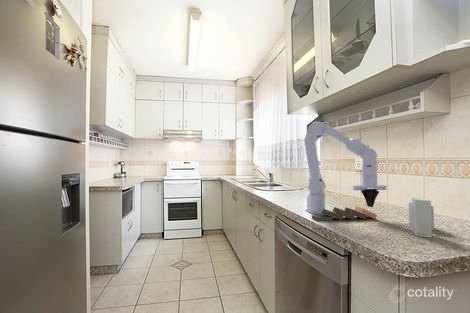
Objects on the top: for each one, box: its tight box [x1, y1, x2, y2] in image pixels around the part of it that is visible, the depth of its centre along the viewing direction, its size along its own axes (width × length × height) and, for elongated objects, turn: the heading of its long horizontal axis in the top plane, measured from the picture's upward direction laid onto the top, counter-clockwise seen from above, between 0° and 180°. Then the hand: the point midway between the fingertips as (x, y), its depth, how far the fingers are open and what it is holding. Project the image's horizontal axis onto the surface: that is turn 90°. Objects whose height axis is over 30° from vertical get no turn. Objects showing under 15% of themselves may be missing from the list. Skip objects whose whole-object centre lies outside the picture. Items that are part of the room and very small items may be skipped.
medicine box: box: [408, 202, 435, 231], centre depth 87 cm, size 8×4×9 cm, turn 168°
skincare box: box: [411, 197, 433, 239], centre depth 78 cm, size 6×4×12 cm
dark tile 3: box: [332, 206, 356, 221], centre depth 100 cm, size 5×2×7 cm
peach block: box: [354, 206, 378, 220], centre depth 101 cm, size 5×2×7 cm
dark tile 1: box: [311, 214, 334, 222], centre depth 99 cm, size 5×2×7 cm
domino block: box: [344, 207, 368, 220], centre depth 101 cm, size 5×2×7 cm
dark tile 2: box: [322, 208, 344, 221], centre depth 100 cm, size 5×2×7 cm
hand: (370, 206), depth 102 cm, fingers closed
